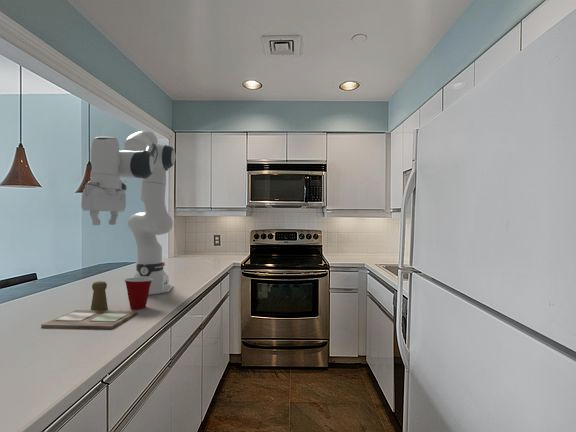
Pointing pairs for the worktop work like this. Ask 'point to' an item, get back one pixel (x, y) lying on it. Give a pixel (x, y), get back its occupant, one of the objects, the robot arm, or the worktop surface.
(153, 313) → the worktop surface
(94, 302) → the cork
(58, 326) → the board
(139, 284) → the plastic cup
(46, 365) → the worktop surface
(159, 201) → the robot arm
